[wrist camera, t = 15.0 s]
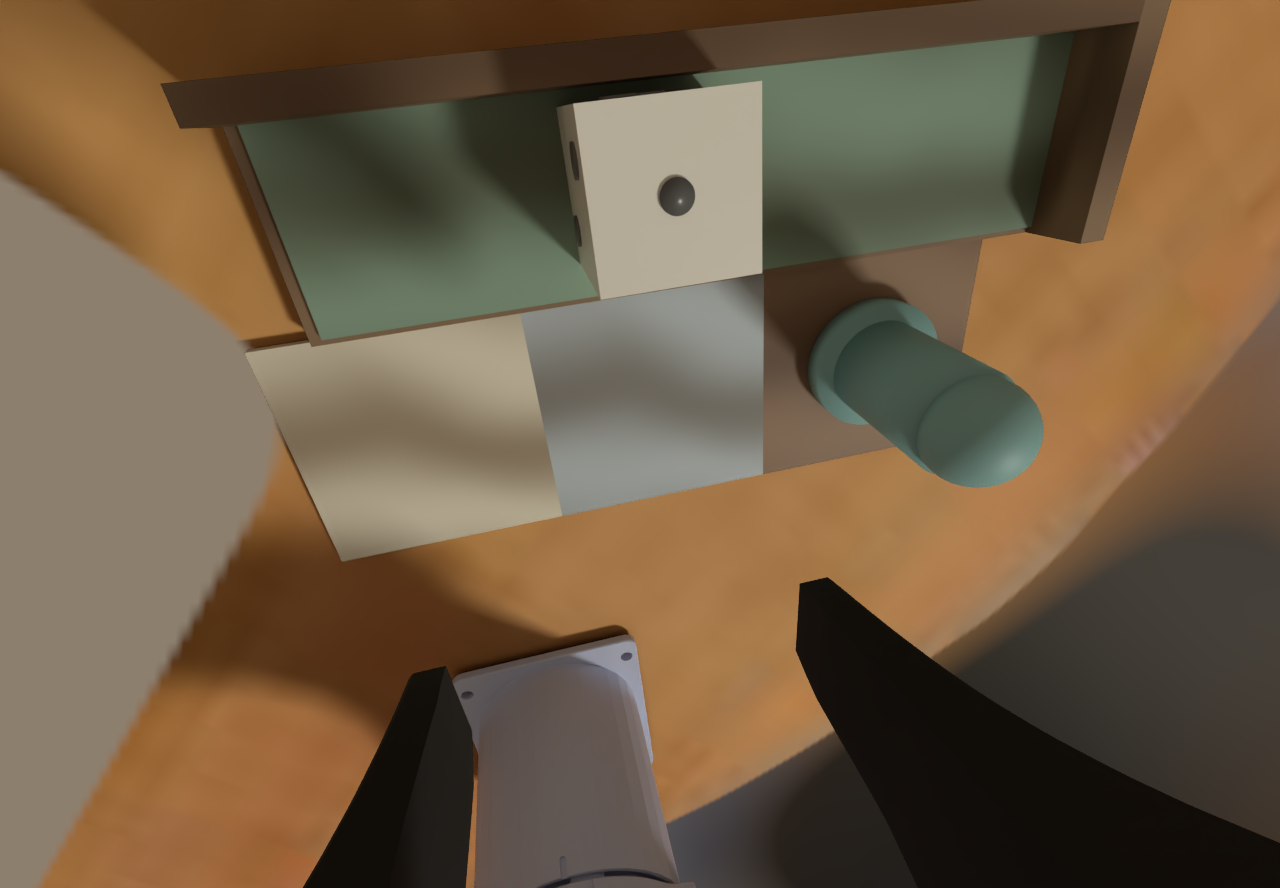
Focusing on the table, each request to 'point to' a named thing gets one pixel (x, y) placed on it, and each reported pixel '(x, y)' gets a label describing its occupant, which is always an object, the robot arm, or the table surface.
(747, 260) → the die
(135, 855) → the table surface
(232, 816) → the table surface
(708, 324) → the track
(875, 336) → the pawn
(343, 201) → the dice tray
